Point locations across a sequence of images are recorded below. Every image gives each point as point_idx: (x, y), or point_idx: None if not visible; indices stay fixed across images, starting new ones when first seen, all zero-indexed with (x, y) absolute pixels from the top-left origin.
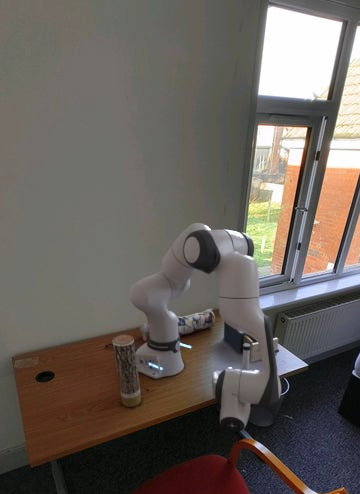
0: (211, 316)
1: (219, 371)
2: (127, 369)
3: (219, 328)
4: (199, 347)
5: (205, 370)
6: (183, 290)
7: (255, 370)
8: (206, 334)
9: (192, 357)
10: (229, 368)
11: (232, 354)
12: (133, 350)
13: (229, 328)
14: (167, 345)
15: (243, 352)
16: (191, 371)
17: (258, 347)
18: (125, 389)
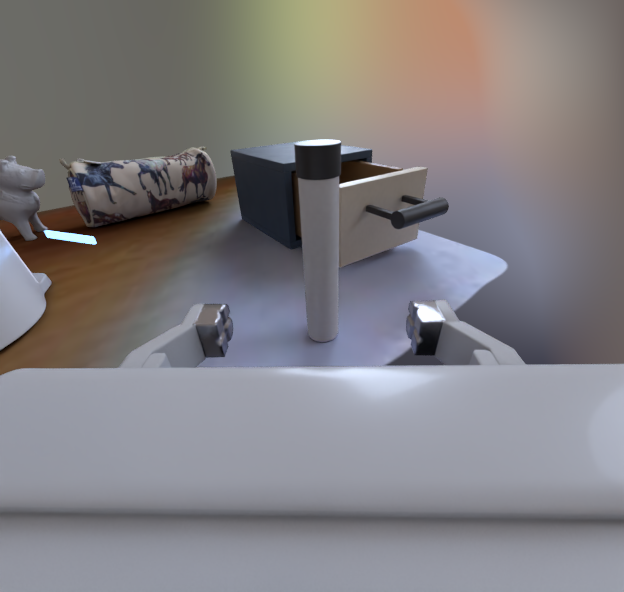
0: (203, 164)
1: (43, 377)
2: None
3: (233, 201)
4: (155, 246)
5: (134, 331)
6: None
7: (419, 306)
8: (194, 214)
9: (108, 280)
10: (197, 317)
11: (265, 253)
12: None
13: (247, 171)
14: None
15: (301, 200)
16: (56, 347)
17: (361, 202)
18: None
